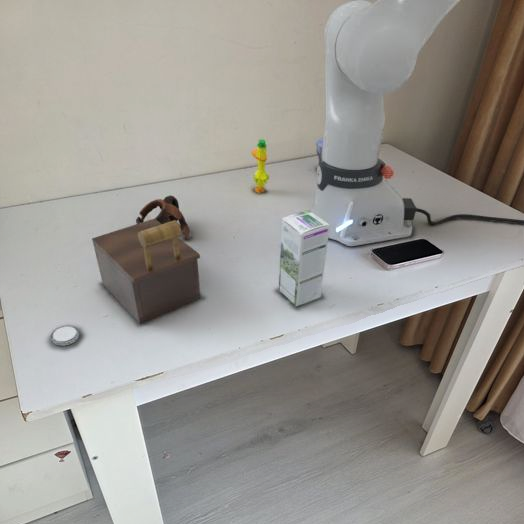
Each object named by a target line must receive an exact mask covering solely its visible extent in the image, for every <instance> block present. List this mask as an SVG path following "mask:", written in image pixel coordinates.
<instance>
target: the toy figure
mask: <svg viewBox="0 0 524 524" xmlns="http://www.w3.org/2000/svg"><path fill="white" fill-rule="evenodd" d="M266 141H267V140H265V139H258V143H257V144H256V149H252V150H251V155H252V157H253V158H255V159H256V161H257V170H256V171H255V172H254V177H253V181H254V183H255V184H256V187H254V191H255V192H256V193H258V194H260V193H265V189H264V187H265V186H266V184H267V183H268V180H269V179H270V174H269V173H267V171H266V169H265V168H266V161H267V160H268V157H267V156H268V155H267V144H266Z"/></svg>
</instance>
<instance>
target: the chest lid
mask: <svg viewBox="0 0 524 524" xmlns="http://www.w3.org/2000/svg"><path fill="white" fill-rule="evenodd" d="M181 235H182V228H181V226H180V223H179V221H175V220H174V221H171V222H168V223H165V224H161V223H160V222H158V221H157V220H156V219H155V218H152V219H149V220H144V222H142V223H139V224H137V223H136V224H132V225H130V226H127V227H123V228H119V229H117V230H114V231H111V232H107V233H105V234H102V235H98V236H95V237H91V240H92V243H94V244H95V245H96V246H97V247H98V248H99V249H100V250H101V251H102V252H103V253H104V254H105V255H106V256H107V257H108V258H109V259H110V260H111V261H112V262H113V263H114V264H115V265H116V266H117V267H118V268H119V269H120V270H121V271H122V272H123V273H124V274H125V275H126V276H127V277H128V278H129V279H130V280H131V281H132V282H133V283H136V282H139V281H142V280H144V279H147V278H150V277H152V276H155V275H157V274H160V273H163V272H165V271H168V270H170V269H173V268H176V267H178V266H181V265H184V264H186V263H189V262H191V261H194V260H199V259H201V254H200V253H199V252H198V251H197V250H195V249H194V248H193V247H192V246H191V245H189V244H187V243H186V242H185V241H184V240H182V239H181V238H180V236H181Z"/></svg>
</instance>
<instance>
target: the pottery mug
mask: <svg viewBox="0 0 524 524" xmlns="http://www.w3.org/2000/svg"><path fill="white" fill-rule="evenodd" d="M158 207H159V209H160V212H159V214H158V215H157V216H156V217H155V218H154V219H156V220H157V221H158V222H160V223H161V224H165V223H168V222H171V221H174V220H175V221H177V222H178V224H179V225H180V228H181V229H182V230H181V235H183V236H184V240H186V241H187V240H188V239H189V238H190V235H191V230H190V228H189V225H188V223H187V221H186V219H185V217H184V214H183V213H182V211H181V210H180V205H179V200H178V199H177V197H175V196H174V195H167V196H165V197H164V198H163V199H161V198H157V199H154V200H151V201H150V202H148V203H147V204H146V205H144V207H142V208H141V210H139V213H138V214H139V215H140V216H141V217H140V216H138V217H137V218H136V220H135V223H136V224H139V223H142V222H145V219H146V218H147V216H148V215H149V214H150V213H151V212H152V211H154V210H155V209H157V208H158Z"/></svg>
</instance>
